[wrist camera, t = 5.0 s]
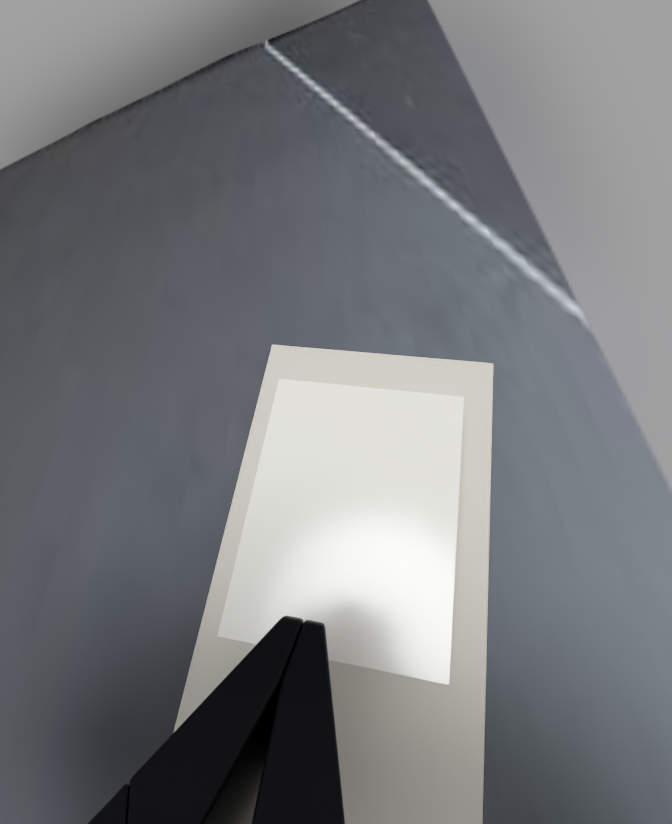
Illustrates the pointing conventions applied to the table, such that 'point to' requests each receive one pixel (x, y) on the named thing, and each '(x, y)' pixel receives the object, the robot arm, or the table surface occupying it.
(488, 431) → the mat
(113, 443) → the table surface
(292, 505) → the tile
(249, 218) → the table surface
